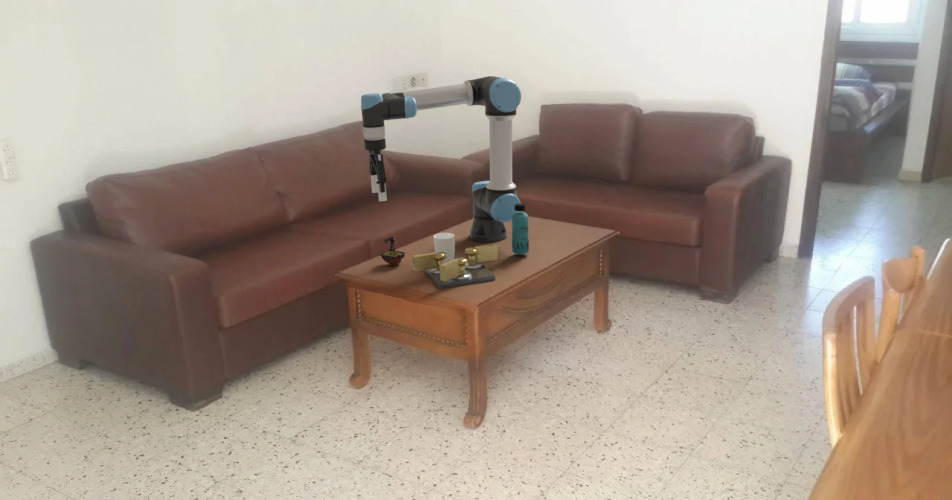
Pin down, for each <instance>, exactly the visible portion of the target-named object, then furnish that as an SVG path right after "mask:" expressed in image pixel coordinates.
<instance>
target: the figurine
mask: <svg viewBox="0 0 952 500" xmlns="http://www.w3.org/2000/svg"><path fill="white" fill-rule="evenodd" d="M389 241H390V243H389V249H388V250H384V251H383V252H382V253H381V254H380V257H381V259H382V260H383V261H384V262H385V263H387V264H388V265H389V266H391V267H395V266H397V265H399V264H401V262H402V260H403V259H404V258H405V255H406V252H405V251H399V250H396V248H395V244H396V246H397V247H400V245H399V244H398V243H397V241H396V240H395V237H394V236H393V234H390V236H389V237H388V238H387V239H384V240H383V242H384V245H385V244H386V245H387V243H388V242H389Z"/></svg>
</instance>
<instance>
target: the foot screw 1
mask: <svg viewBox="0 0 952 500" xmlns="http://www.w3.org/2000/svg"><path fill="white" fill-rule="evenodd" d="M444 259H446V253H444V252H436V253H435V251H433V252H428V253H421V254H414V255H413V254H412V266H413V267H412V269H413V271H414V272H422V271H426V270H430V269H437V270H440V265H441V264H443V263H444Z"/></svg>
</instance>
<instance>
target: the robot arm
mask: <svg viewBox="0 0 952 500" xmlns="http://www.w3.org/2000/svg"><path fill="white" fill-rule="evenodd" d="M521 100H522V92H521V89H520V87H519V86H518V84H517V83H516V82H515V81H513V80H511V79H509V78H506V77H499V76H495V75H494V76H493V75H492V76H491V75H489V76H484V77H478V78H476V79H469V80H468V79H467V80H464V82H463V83H459V84H451V85H445V86H437V87H430V88H423V89H414V90H407V91H402V92H394V93H390V92H384V93H379V92H378V93H376V92H375V93H365V94H363V95H362V96H361V97H360V109H361V117H362V129H361V132H362V133H363V138H364V140H363V142H364V145H363V146H364V150H365V151H368V154H369V155H368V156H369V157H368V161H369V162H368V164H369V165H368V172H369V174H370V183H371V193H372V194H376V193H377V195H378V202H386V201H388V198H387V182H388V181H387V175H386V168H385V163H384V155H383V154H382V153H381V151H383V150H385V149H386V148H387V145H386V144H387V142H386V138H385V137H386V128H385V121H389V120H390V121H391V120H402V119H403V120H405V119H410V118H415V117H416V116H417V112H418V111H423V110H425V111H426V110H430V109H431V110H432V109H437V108H446V107H453V106H459V105H467V106H468V107H470V106H473V107H474V106H481V107H484V109H485V110H484V113H485V117H486V118H488V120H489V124H488V125H489V126H488V127H489V129H488V130H489V131H488V132H489V180H483V181H476V182H474V183H473V184H472V186H471V189H472V190H471V194H472V195H471V196H472V197H471V198H472V214H473V219H472V223H471V226H470V227H471V228H470V231H469V238H470V239H471V240H473V241H474V242H475V241H476V242H480V243H481V242H482V243H490V242H491V243H493V242H498V241H501V240H504V239H506V238H507V237H508V231H507V227H506V224H505V223H509V222H512V215H513V214H514V213H516V212H521V211H515V209H514V208H515V204H519V203H521V201H520V198H519V197H518V196H517V185H516V184H515V183H514V182H513V119H514V118H515V117H516V116H517V109H518V107H519V106H520V104H521Z"/></svg>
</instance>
